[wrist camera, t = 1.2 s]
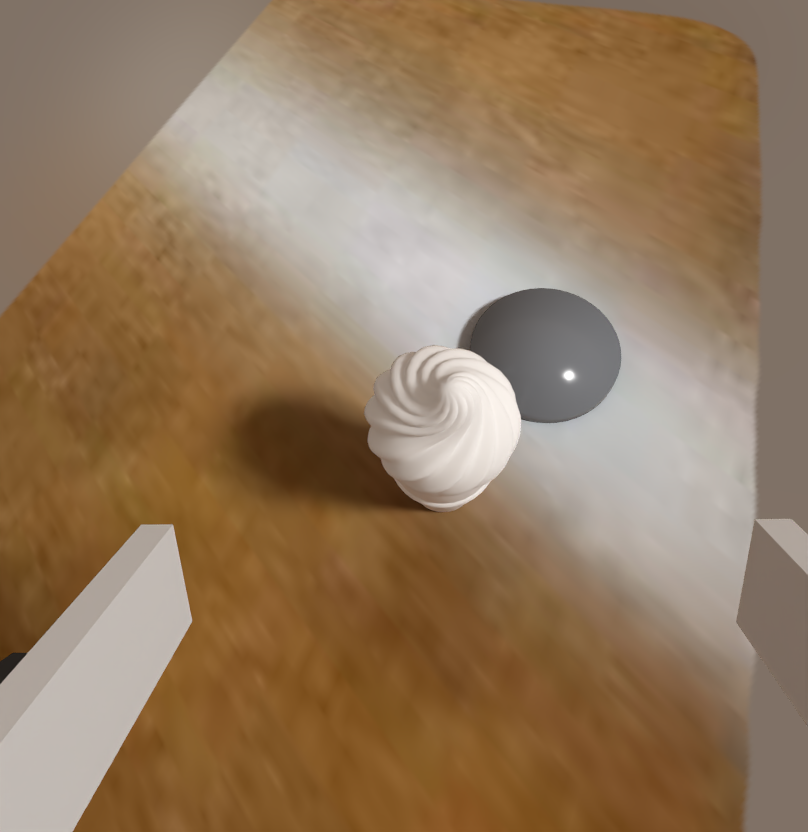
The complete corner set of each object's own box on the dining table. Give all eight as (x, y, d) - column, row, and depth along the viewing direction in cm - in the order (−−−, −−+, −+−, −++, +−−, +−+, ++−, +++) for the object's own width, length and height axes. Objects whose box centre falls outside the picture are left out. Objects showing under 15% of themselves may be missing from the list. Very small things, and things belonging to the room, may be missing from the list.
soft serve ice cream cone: (358, 484, 43) (314, 379, 28) (440, 405, 45) (437, 270, 30) (446, 568, 40) (446, 499, 26) (528, 480, 42) (571, 370, 28)
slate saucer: (443, 333, 47) (443, 326, 47) (563, 274, 49) (565, 266, 48) (520, 448, 43) (521, 443, 42) (648, 380, 45) (652, 373, 44)
